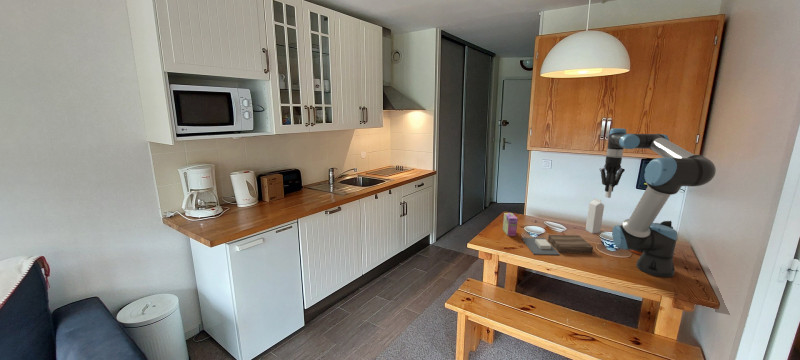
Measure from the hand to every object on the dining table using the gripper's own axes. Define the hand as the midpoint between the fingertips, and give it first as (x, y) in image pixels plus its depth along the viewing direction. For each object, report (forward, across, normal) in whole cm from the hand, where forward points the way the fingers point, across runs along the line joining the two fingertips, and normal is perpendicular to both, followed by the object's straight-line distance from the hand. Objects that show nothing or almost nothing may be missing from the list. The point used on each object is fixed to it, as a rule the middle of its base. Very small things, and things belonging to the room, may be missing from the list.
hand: (607, 197), depth 187 cm
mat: (+29, +37, +4) cm, 48 cm away
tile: (+27, +36, +4) cm, 45 cm away
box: (+30, +49, -16) cm, 59 cm away
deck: (+29, +20, +4) cm, 36 cm away
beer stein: (+30, -20, +9) cm, 37 cm away
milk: (+29, -6, -20) cm, 36 cm away
